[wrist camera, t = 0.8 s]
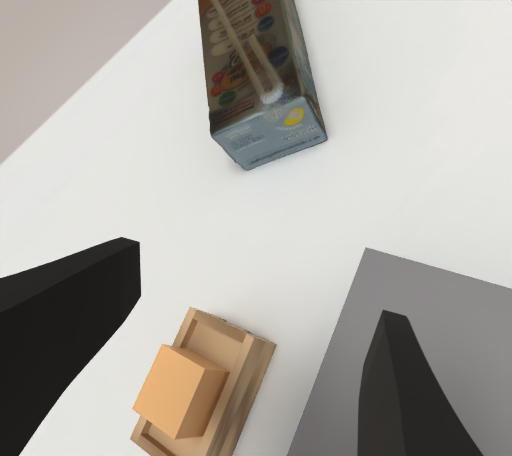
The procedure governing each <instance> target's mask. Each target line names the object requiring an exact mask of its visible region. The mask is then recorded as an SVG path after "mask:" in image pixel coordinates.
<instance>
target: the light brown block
mask: <svg viewBox="0 0 512 456" xmlns="http://www.w3.org/2000/svg"><path fill="white" fill-rule="evenodd" d="M229 374H230V372H229V371H227V370H226V369H224V368H222V367H220V366H218V365H217V364H215V363H213V362H211V361H209V360H208V359H206V358H204V357H202V356H200V355H199V354H197V353H195V352H193V351H191V350H189V349H184V348H179V347H174V346H169V345H164V344H162V345H161V347H160V350H159V352H158V354H157V356H156V358H155V360H154V363H153V365H152V367H151V369H150V371H149V373H148V376H147V378H146V380H145V382H144V384H143V386H142V389H141V391H140V393H139V395H138V397H137V400H136V402H135V404H134V406H133V408H132V409H133V410H135V411H136V412H137V413H139V414H140V415H141V416H143V417H144V418H145V419H147V420H148V421H150V422H151V423H152V424H154V425H155V426H156V427H158V428H159V429H160V430H162V431H163V432H164V433H166V434H167V435H168V436H170V437H171V438H173V439H174V440H176V439H185V438H193V437H201V436H204V434H205V432H206V429H207V427H208V424H209V422H210V420H211V417H212V415H213V412H214V410H215V408H216V405H217V403H218V401H219V398H220V396H221V393H222V391H223V389H224V386H225V384H226V382H227V379H228V377H229Z"/></svg>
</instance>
